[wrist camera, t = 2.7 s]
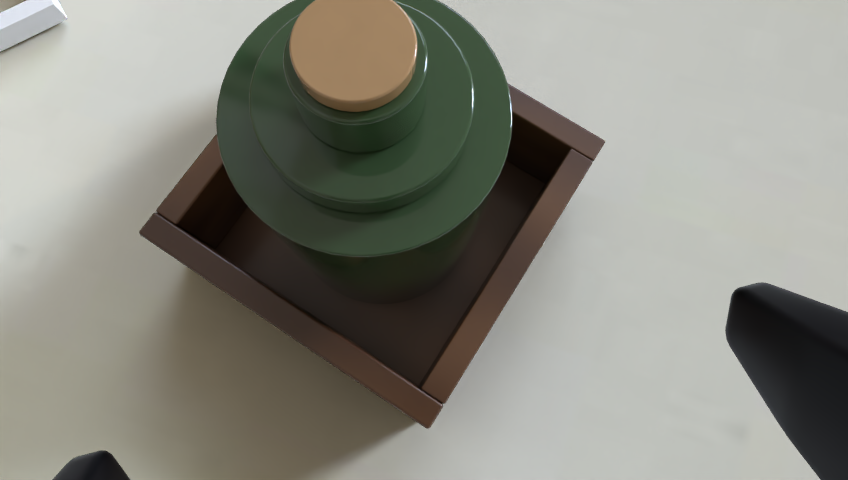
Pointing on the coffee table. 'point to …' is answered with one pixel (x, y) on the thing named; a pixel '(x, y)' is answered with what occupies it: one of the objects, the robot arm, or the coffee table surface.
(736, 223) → the coffee table surface
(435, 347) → the crate
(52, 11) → the photo frame
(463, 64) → the bottle
